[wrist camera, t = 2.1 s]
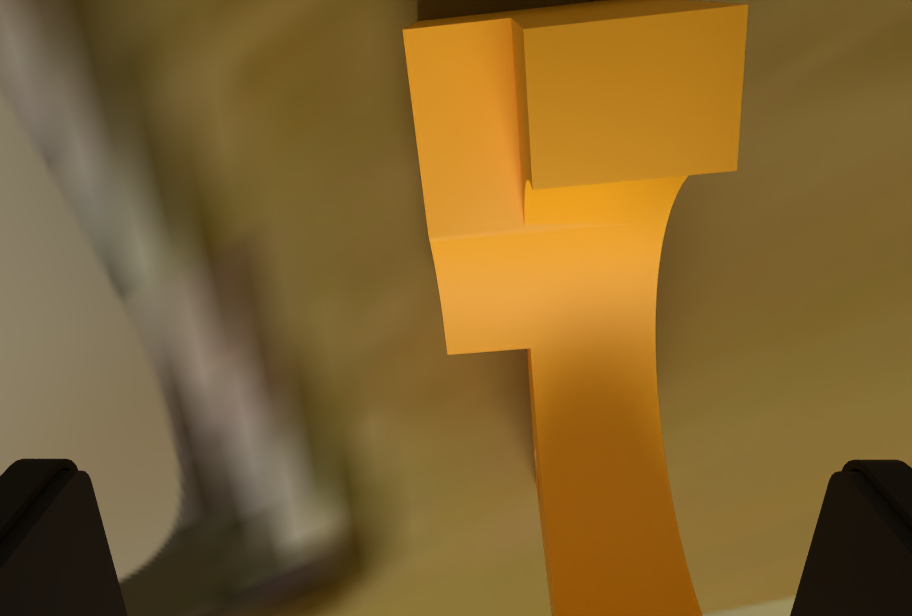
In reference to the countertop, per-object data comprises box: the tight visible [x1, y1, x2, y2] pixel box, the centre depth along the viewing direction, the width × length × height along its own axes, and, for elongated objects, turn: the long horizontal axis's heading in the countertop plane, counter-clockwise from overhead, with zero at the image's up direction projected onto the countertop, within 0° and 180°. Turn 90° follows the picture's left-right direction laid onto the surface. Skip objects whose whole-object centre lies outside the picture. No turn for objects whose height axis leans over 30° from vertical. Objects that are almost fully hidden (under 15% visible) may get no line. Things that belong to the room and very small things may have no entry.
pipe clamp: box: [403, 0, 748, 616], centre depth 13 cm, size 12×4×6 cm, turn 6°
